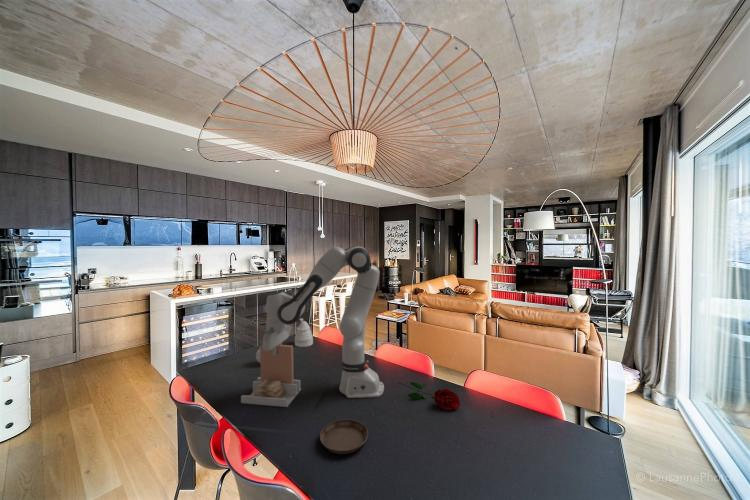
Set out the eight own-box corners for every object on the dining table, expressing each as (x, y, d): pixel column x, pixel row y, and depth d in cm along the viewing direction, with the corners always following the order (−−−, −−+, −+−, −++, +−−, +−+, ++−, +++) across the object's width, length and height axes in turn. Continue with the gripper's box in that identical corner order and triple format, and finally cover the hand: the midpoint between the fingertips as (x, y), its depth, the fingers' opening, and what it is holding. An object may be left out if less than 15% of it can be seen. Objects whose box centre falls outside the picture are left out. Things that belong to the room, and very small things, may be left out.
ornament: (252, 365, 171) (252, 345, 171) (263, 359, 181) (263, 340, 181) (266, 367, 168) (266, 347, 168) (277, 360, 178) (277, 341, 178)
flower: (397, 372, 137) (460, 392, 124) (403, 374, 145) (463, 393, 131) (392, 392, 134) (456, 415, 120) (398, 393, 142) (459, 414, 128)
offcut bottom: (284, 396, 135) (284, 391, 135) (278, 403, 129) (278, 397, 129) (261, 394, 137) (261, 389, 137) (254, 401, 131) (254, 395, 131)
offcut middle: (282, 390, 135) (282, 385, 135) (276, 397, 129) (276, 392, 129) (263, 389, 137) (263, 384, 137) (256, 396, 131) (256, 390, 131)
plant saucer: (344, 420, 118) (344, 413, 118) (377, 438, 107) (377, 430, 107) (309, 443, 105) (309, 435, 105) (343, 467, 94) (343, 458, 93)
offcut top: (280, 385, 135) (280, 380, 135) (274, 392, 129) (274, 387, 129) (265, 384, 136) (265, 379, 136) (258, 391, 130) (258, 385, 130)
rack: (301, 390, 142) (301, 378, 142) (287, 409, 126) (286, 395, 126) (260, 387, 145) (260, 375, 145) (241, 405, 129) (240, 392, 129)
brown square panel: (293, 382, 139) (293, 345, 139) (291, 384, 137) (291, 346, 137) (263, 380, 142) (262, 344, 141) (260, 381, 140) (260, 345, 139)
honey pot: (291, 345, 205) (290, 320, 204) (301, 340, 217) (301, 316, 217) (306, 347, 201) (306, 322, 200) (316, 341, 213) (316, 317, 213)
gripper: (271, 331, 128) (272, 362, 128) (291, 319, 148) (291, 346, 149) (258, 331, 129) (259, 361, 129) (279, 319, 149) (280, 345, 150)
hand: (276, 353), depth 139 cm, fingers closed on brown square panel, 2 cm apart
